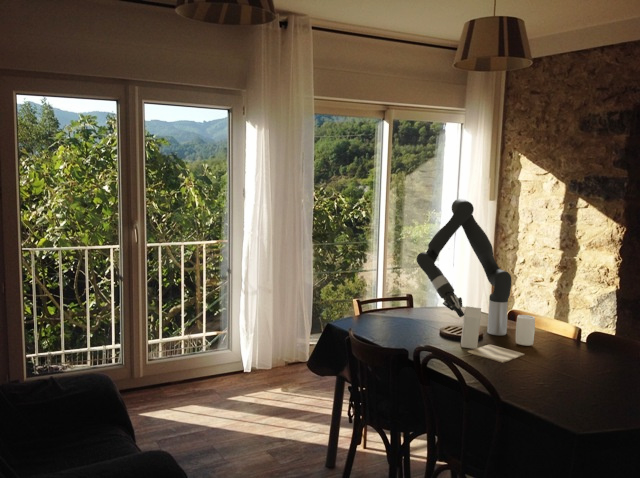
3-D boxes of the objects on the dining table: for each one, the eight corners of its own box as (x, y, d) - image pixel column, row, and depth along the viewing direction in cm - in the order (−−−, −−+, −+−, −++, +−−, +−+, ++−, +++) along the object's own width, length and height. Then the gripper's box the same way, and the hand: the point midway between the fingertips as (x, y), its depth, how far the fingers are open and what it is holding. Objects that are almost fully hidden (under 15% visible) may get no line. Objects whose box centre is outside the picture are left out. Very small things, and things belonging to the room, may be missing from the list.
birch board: (489, 345, 269) (489, 344, 269) (524, 355, 255) (524, 353, 255) (467, 352, 257) (467, 351, 257) (502, 362, 244) (502, 361, 244)
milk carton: (476, 349, 262) (481, 309, 260) (461, 347, 263) (466, 307, 261) (475, 345, 269) (480, 306, 266) (460, 343, 270) (465, 304, 268)
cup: (534, 344, 272) (536, 316, 271) (532, 349, 265) (534, 319, 263) (515, 342, 276) (517, 313, 274) (513, 346, 268) (515, 317, 267)
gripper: (439, 283, 269) (459, 313, 261) (455, 280, 278) (475, 310, 270) (429, 292, 274) (449, 322, 266) (446, 289, 282) (465, 318, 274)
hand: (462, 316), depth 268 cm, fingers closed
